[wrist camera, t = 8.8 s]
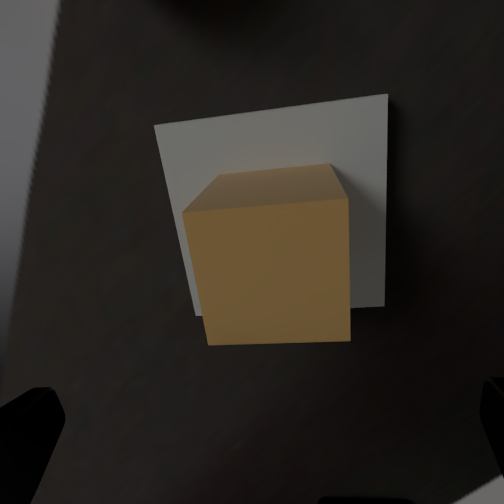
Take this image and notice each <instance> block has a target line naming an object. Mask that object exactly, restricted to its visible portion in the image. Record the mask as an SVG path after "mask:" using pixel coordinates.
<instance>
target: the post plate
mask: <svg viewBox="0 0 504 504" xmlns="http://www.w3.org/2000/svg"><path fill="white" fill-rule="evenodd" d="M387 122H388V94H379V95H371V96H364V97H357V98H349V99H342V100H335V101H327V102H320V103H312V104H305V105H298V106H290V107H283V108H276V109H268V110H261V111H253V112H246V113H239V114H231V115H224V116H217V117H209V118H202V119H194V120H187V121H180V122H172V123H165V124H159V125H155V126H154V129H155V133H156V138H157V142H158V147H159V151H160V156H161V160H162V165H163V169H164V174H165V178H166V183H167V187H168V192H169V196H170V201H171V205H172V210H173V214H174V219H175V224H176V228H177V233H178V237H179V242H180V246H181V251H182V255H183V260H184V264H185V269H186V273H187V278H188V282H189V287H190V291H191V296H192V300H193V305H194V309H195V314H196V316H202V311H201V306H200V301H199V296H198V291H197V286H196V281H195V276H194V271H193V266H192V261H191V256H190V251H189V246H188V241H187V236H186V231H185V226H184V221H183V216H182V212H183V211H184V210H185V209H186V208H187V207H188V206H189V205H190V203H191V202H192V201H193V200H194V199H195V198H196V197H197V196H198V195H199V194H200V193H201V192H202V191H203V190H204V189H205V188H206V187H207V186H208V185H209V184H210V183H211V182H212V181H213V180H214V179H215V178H216V177H217V176H218V175H219V174H226V173H236V172H246V171H256V170H265V169H275V168H285V167H295V166H305V165H315V164H325V163H330V165H331V167H332V169H333V171H334V172H335V174H336V176H337V178H338V180H339V182H340V184H341V185H342V187H343V189H344V191H345V193H346V195H347V196H348V201H349V270H350V308H360V307H379V306H385V247H386V185H387Z"/></svg>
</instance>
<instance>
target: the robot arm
mask: <svg viewBox="0 0 504 504" xmlns="http://www.w3.org/2000/svg"><path fill="white" fill-rule="evenodd" d="M480 418H481V422H482V425H483V427H484V430H485V432H486V435H487V437H488V440H489V442H490V445H491V447H492V450H493V452H494V455H495V457H496V460H497V462H498V465H499V467H500V470H501V472H502V475H503V478H504V377H494V378H487V379H486V380H485V382H484V385H483V391H482V398H481V404H480ZM64 423H65V413H64V410H63V408H62V406H61V403H60V401H59V399H58V396H57V394H56V392H55V390H54V389H52V388H50V387H36V388H32V389H30V390H28V391H27V392H25V393H23V394H22V395H20V396H19V397H17V398H15V399H14V400H12V401H10V402H9V403H7V404H5V405H4V406H2V407H0V504H30V503H31V501H32V499H33V497H34V495H35V492H36V490H37V488H38V486H39V483H40V481H41V479H42V476H43V474H44V472H45V469H46V467H47V464H48V462H49V460H50V457H51V455H52V453H53V450H54V448H55V446H56V443H57V441H58V438H59V436H60V434H61V431H62V429H63V427H64ZM318 504H410V502H408V501H404V500H368V499H328V498H324V499H320V500H319V501H318Z"/></svg>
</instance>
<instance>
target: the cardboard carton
mask: <svg viewBox="0 0 504 504" xmlns="http://www.w3.org/2000/svg"><path fill="white" fill-rule="evenodd" d="M182 216H183V221H184V226H185V231H186V236H187V241H188V246H189V251H190V256H191V261H192V266H193V271H194V276H195V281H196V286H197V291H198V296H199V301H200V306H201V311H202V316H203V321H204V326H205V331H206V336H207V341H208V345H232V344H266V343H299V342H332V341H351V339H350V270H349V201H348V196H347V195H346V193H345V191H344V189H343V187H342V185H341V184H340V182H339V180H338V178H337V176H336V174H335V172H334V171H333V169H332V167H331V165H330V163H325V164H315V165H305V166H295V167H285V168H275V169H265V170H256V171H246V172H236V173H226V174H219V175H218V176H217V177H216V178H215V179H214V180H213V181H212V182H211V183H210V184H209V185H208V186H207V187H206V188H205V189H204V190H203V191H202V192H201V193H200V194H199V195H198V196H197V197H196V198H195V199H194V200H193V201H192V202H191V203H190V205H189V206H188V207H187V208H186V209H185V210H184V211H183V212H182Z"/></svg>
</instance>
